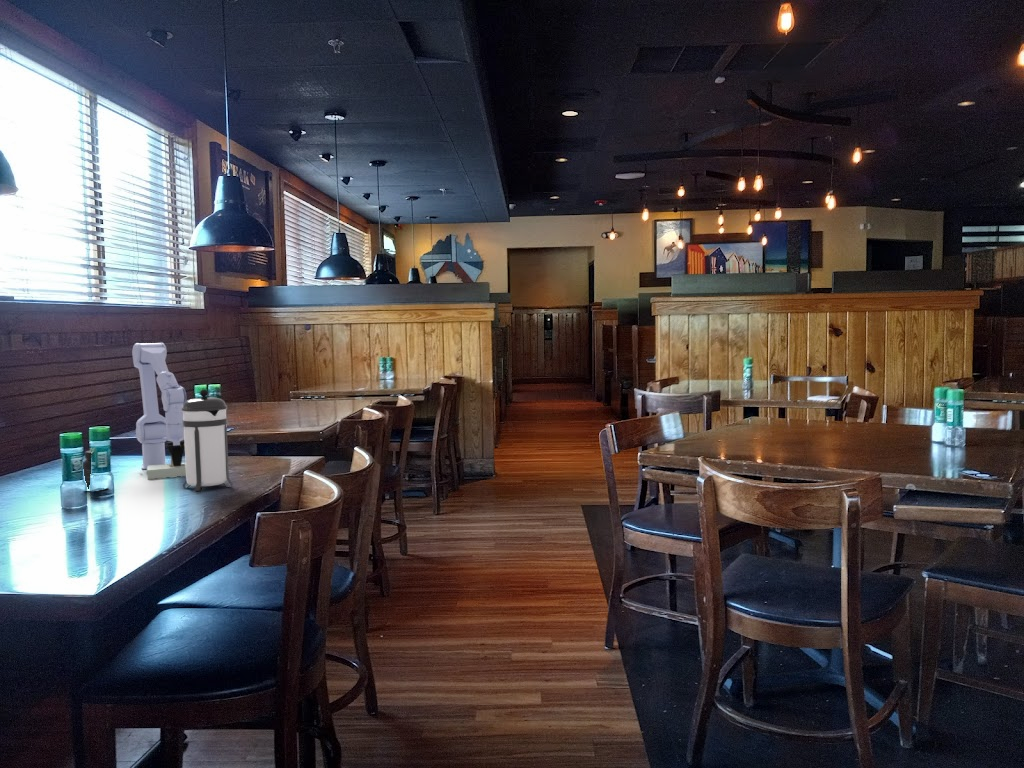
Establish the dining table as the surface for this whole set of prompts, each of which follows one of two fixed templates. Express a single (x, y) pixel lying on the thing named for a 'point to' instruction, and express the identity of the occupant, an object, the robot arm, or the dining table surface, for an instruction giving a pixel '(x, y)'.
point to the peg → (172, 463)
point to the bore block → (165, 471)
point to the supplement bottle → (87, 467)
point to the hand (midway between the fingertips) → (177, 464)
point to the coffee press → (205, 442)
